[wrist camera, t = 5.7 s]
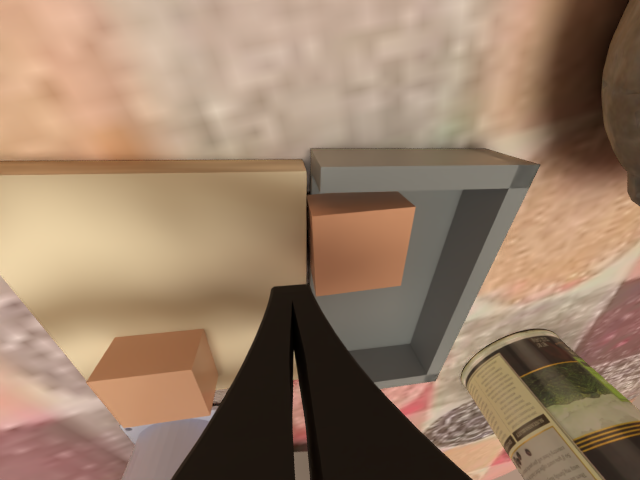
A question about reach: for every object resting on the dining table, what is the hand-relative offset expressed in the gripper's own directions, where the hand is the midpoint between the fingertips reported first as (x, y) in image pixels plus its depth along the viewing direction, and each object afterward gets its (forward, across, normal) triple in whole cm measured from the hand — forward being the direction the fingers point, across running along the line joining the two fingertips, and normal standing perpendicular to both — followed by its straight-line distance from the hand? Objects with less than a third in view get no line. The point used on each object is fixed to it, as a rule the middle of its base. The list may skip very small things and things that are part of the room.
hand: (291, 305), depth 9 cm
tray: (+5, -6, +3) cm, 9 cm away
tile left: (+3, +7, +7) cm, 10 cm away
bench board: (+5, +6, +3) cm, 8 cm away
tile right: (+5, -3, 0) cm, 6 cm away
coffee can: (+6, -22, +16) cm, 28 cm away
